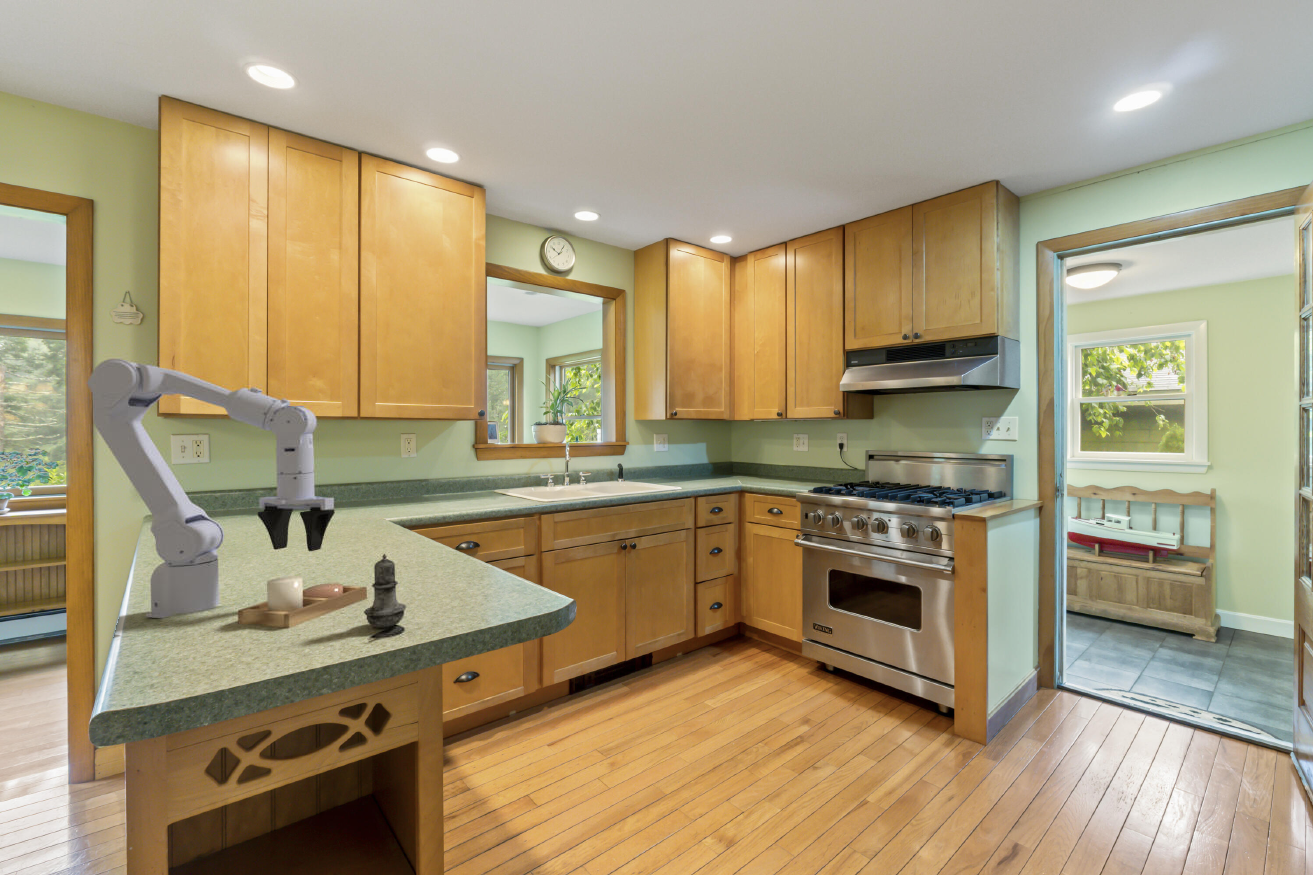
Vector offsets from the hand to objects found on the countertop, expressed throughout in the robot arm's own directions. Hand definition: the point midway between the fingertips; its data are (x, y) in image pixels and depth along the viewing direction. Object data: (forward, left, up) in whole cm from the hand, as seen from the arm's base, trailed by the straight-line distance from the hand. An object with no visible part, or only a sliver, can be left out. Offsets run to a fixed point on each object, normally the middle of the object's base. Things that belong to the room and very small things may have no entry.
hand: (297, 549), depth 105 cm
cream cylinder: (+7, -9, -9) cm, 14 cm away
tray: (+7, -5, -10) cm, 13 cm away
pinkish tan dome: (+7, -1, -9) cm, 11 cm away
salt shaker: (+26, -9, -10) cm, 29 cm away
